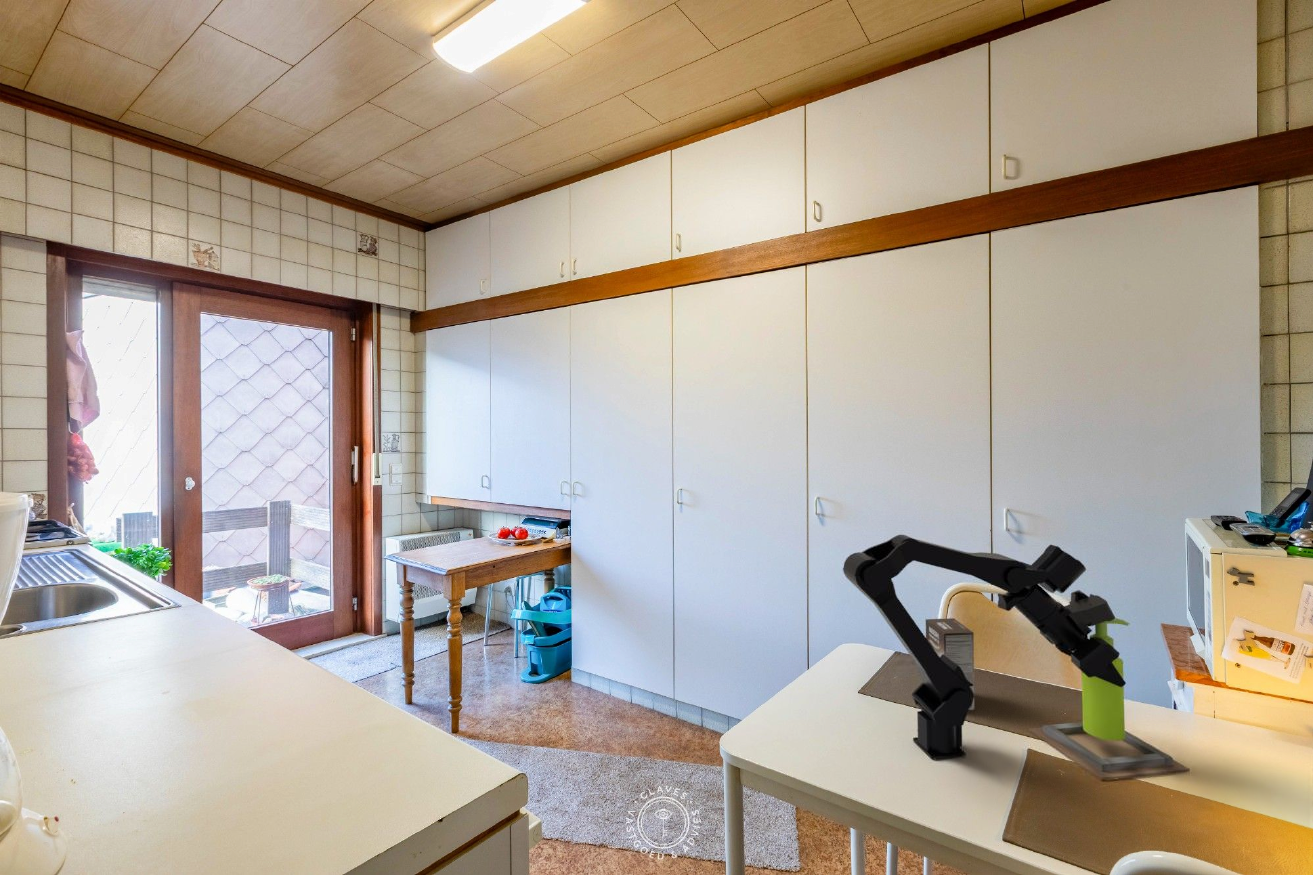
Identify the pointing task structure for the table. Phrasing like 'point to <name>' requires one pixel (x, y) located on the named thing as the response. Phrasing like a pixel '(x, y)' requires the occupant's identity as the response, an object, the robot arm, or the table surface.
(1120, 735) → the soap dispenser
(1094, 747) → the grey rectangular tray
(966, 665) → the coffee box
